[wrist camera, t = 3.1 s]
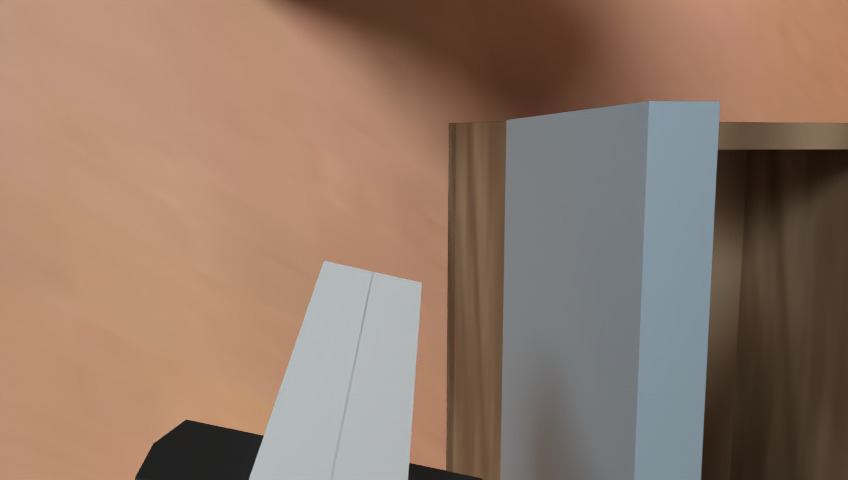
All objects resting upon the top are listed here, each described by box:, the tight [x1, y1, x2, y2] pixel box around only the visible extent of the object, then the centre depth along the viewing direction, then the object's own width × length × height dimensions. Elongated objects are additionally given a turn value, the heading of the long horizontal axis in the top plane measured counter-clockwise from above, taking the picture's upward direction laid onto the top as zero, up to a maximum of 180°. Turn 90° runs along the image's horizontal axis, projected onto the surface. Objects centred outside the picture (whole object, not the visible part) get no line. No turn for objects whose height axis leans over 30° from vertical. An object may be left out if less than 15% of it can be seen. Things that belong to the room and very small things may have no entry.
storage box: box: [446, 121, 848, 480], centre depth 35 cm, size 16×20×9 cm
